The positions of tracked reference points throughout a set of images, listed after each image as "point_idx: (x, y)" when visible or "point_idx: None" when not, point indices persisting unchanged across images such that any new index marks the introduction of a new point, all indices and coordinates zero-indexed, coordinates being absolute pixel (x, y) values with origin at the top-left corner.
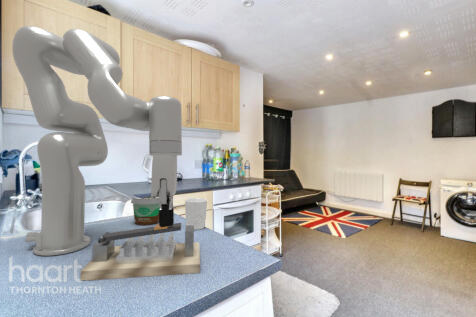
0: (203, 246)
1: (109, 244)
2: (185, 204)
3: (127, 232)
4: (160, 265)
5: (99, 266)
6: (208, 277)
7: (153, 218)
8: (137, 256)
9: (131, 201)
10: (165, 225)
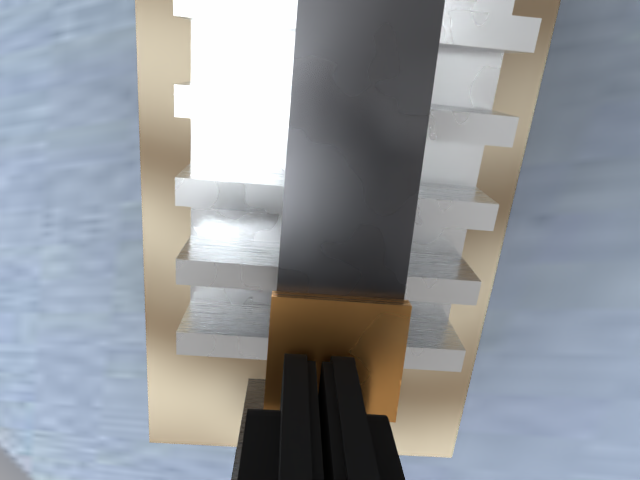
0: (477, 448)
1: None
2: None
3: (354, 4)
4: (152, 258)
5: None
6: (116, 438)
7: None
8: (193, 123)
9: None
10: (280, 404)
